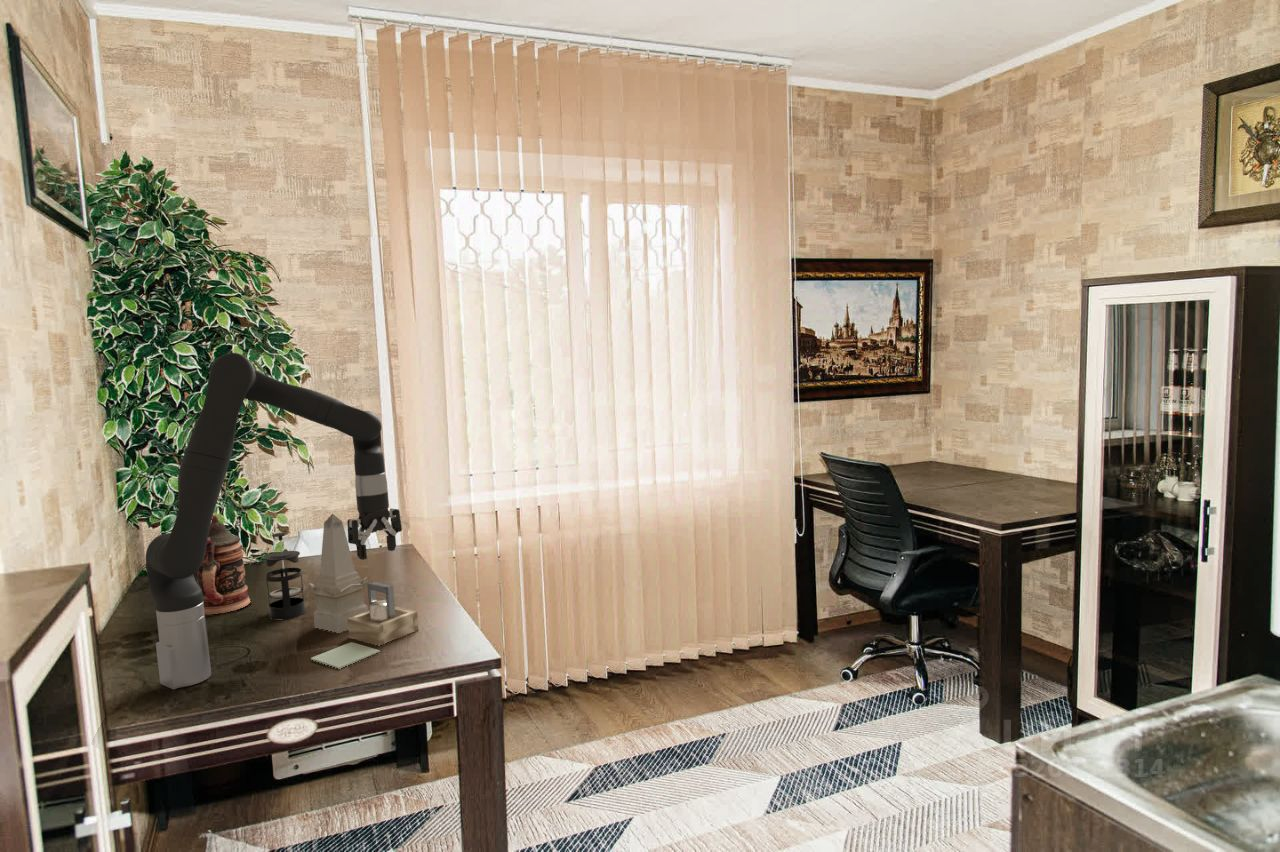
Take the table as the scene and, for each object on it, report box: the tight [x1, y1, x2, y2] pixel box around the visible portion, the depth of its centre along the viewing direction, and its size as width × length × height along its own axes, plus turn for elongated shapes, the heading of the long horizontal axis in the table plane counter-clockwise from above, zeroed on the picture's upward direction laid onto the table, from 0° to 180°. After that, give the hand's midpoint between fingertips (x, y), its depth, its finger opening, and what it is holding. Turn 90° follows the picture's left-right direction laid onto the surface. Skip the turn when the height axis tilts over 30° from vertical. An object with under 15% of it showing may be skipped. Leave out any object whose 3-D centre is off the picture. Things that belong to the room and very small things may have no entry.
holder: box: [347, 606, 419, 647], centre depth 201 cm, size 12×12×5 cm
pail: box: [366, 580, 395, 624], centre depth 200 cm, size 6×8×13 cm
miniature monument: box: [308, 513, 369, 634], centre depth 207 cm, size 10×10×30 cm
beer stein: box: [196, 514, 251, 614], centre depth 226 cm, size 17×28×18 cm
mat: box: [310, 641, 381, 670], centre depth 187 cm, size 11×11×1 cm
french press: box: [263, 531, 307, 620], centre depth 219 cm, size 12×9×23 cm
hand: (377, 554), depth 199 cm, fingers open, 8 cm apart
